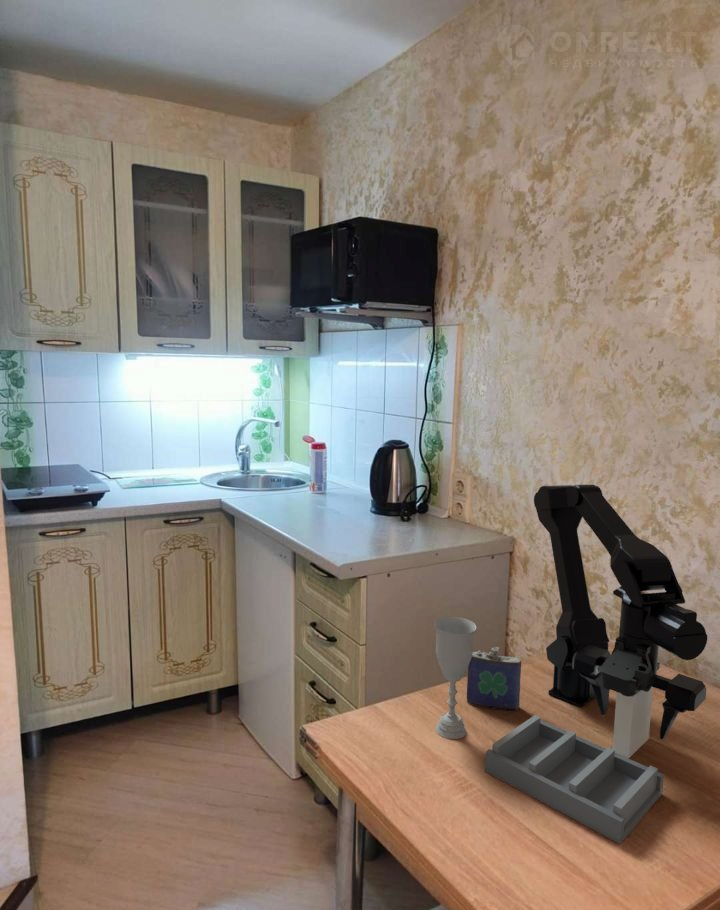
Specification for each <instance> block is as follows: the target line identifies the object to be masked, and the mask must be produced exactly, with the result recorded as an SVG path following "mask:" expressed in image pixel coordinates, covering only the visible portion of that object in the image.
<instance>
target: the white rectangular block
mask: <svg viewBox="0 0 720 910" xmlns="http://www.w3.org/2000/svg"><path fill="white" fill-rule="evenodd" d="M653 689H654V687H651V688H650V690H649V691H648V692H645V691H643V690H640V691H639V692H638V691H636V693H635V694H634V695H633V696H630V697H628V696H624V695H622V694H621V693H619V692H616V695H615V711H614V725H613V739H612V749H614V750H615V753H617V754H619V755H622V756H624V757H626V758H628V759H630V758H631V757H632V756H633V755H634V754H635V753H636V752H637V751H638V750H639V749H640V748H641V747H642V746H643V745H644V744H645V743H646V742H647V741H648V740H649V739H650V728H651V727H650V726H651V716H652V714H651V713H652V706H653V705H652V703H653V702H652V701H653V691H654V690H653Z"/></svg>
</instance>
